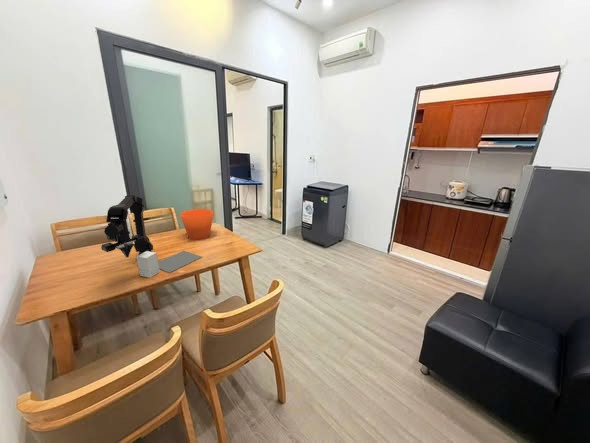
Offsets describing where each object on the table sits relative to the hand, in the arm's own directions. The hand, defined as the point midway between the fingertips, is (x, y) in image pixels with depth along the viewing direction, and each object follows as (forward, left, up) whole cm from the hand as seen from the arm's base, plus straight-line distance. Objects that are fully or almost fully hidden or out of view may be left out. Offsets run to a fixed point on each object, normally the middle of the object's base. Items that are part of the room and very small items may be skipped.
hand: (127, 257), depth 130 cm
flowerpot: (-63, -19, -14) cm, 68 cm away
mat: (-26, +3, -13) cm, 30 cm away
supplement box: (-8, +3, -14) cm, 16 cm away
